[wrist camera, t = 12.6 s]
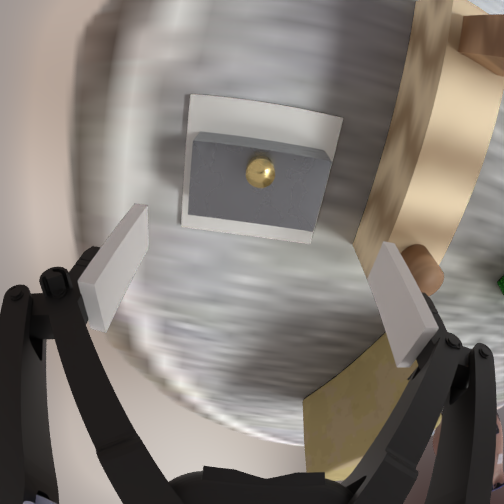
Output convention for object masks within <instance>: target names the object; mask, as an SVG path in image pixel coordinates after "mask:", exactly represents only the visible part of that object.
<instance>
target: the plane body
mask: <svg viewBox="0 0 504 504" xmlns="http://www.w3.org/2000/svg"><path fill="white" fill-rule="evenodd" d="M503 90H504V15H489V14H488V13H486V12H485V11H483V10H482V9H480V8H479V7H477V6H476V5H474V4H473V3H471V2H469V1H468V0H419V1H416V3H415V10H414V17H413V23H412V29H411V34H410V40H409V45H408V50H407V56H406V60H405V65H404V70H403V75H402V79H401V84H400V88H399V92H398V96H397V101H396V105H395V109H394V113H393V117H392V120H391V124H390V128H389V132H388V135H387V139H386V143H385V146H384V150H383V153H382V157H381V160H380V163H379V167H378V170H377V173H376V176H375V180H374V183H373V186H372V189H371V192H370V195H369V198H368V201H367V205H366V208H365V210H364V213H363V216H362V219H361V222H360V225H359V228H358V231H357V234H356V236H355V239H354V242H353V247H354V249H355V252H356V254H357V256H358V259H359V261H360V263H361V266H362V268H363V270H364V273H365V275H366V278H368V276H369V274H370V271H371V269H372V267H373V264H374V262H375V260H376V257H377V255H378V253H379V250H380V248H381V245H382V243H383V241H385V242H390V243H395V245H396V247H397V249H398V250H399V252H400V254H401V256H402V257H403V259H404V261H405V263H406V265H407V266H408V268H409V270H410V272H411V274H412V276H413V277H414V279H415V281H416V283H417V285H418V287H419V289H420V291H421V292H422V293H426V294H427V296H430V295H432V294H433V293H435V292H436V291H437V290H438V289H439V288H440V286H441V285H442V283H443V280H444V273H443V271H442V270H441V268H440V267H439V264H440V262H441V260H442V259H443V257H444V255H445V253H446V250H447V248H448V246H449V244H450V242H451V240H452V238H453V236H454V234H455V232H456V229H457V227H458V225H459V223H460V220H461V218H462V216H463V214H464V211H465V209H466V206H467V204H468V202H469V199H470V197H471V194H472V192H473V189H474V186H475V184H476V181H477V178H478V176H479V173H480V170H481V167H482V164H483V162H484V159H485V156H486V153H487V149H488V146H489V143H490V140H491V136H492V133H493V130H494V126H495V122H496V119H497V115H498V111H499V107H500V103H501V99H502V94H503Z"/></svg>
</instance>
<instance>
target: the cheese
mask: <svg viewBox="0 0 504 504" xmlns="http://www.w3.org/2000/svg"><path fill="white" fill-rule="evenodd" d="M417 367H418V363H417V360H415V361H414V363H413V364H412V365H411V366H410V367H397V366H396V363H395V359H394V356H393V353H392V350H391V347H390V343H389V340H388V337H387V334H386V333H385V334H383V335H382V336H381V337H380V338H379V339H378V340H377V341H376V342H375V343H374V344H373V345H372V346H371V347H369V348H368V349H367V350H366V351H365V352H364V353H363V354H362V355H361V356H360V357H358V358H357V359H356V360H355V361H354V362H353V363H352V364H351V365H349V366H348V367H347V368H346V369H345V370H343V371H342V372H341V373H340V374H338V375H337V376H336V377H335V378H333V379H332V380H331V381H329V382H328V383H327V384H325V385H324V386H323V387H321V388H320V389H318V390H317V391H315V392H314V393H312V394H311V395H309V396H308V397H306V398H305V399H304V400H303V421H304V444H305V457H306V470H307V473H309V472H325V478H326V479H330V480H333V481H338V480H345V479H346V478H347V477H348V476H349V475H350V474H351V473H352V472H353V470H354V469H355V468H356V466H357V465H358V463H359V462H360V461H361V459H362V458H363V456H364V455H365V453H366V452H367V451H368V449H369V448H370V446H371V445H372V443H373V442H374V440H375V438H376V437H377V435H378V434H379V432H380V431H381V429H382V427H383V426H384V424H385V423H386V421H387V419H388V418H389V416H390V414H391V413H392V411H393V409H394V408H395V406H396V404H397V402H398V400H399V399H400V397H401V395H402V393H403V391H404V390H405V388H406V386H407V384H408V382H409V380H407V379H408V378H409V376H410V375H411V374H412V373H413V372H414V370H415V369H416V368H417ZM441 419H442V415H441V414H440V416H439V419H438V421H437V423H436V426H435V428H436V427H437V426H438V425H439V424H440V422H441ZM435 428H434V429H435Z"/></svg>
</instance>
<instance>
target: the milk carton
mask: <svg viewBox="0 0 504 504" xmlns="http://www.w3.org/2000/svg"><path fill="white" fill-rule="evenodd" d="M497 283H498V285H499V287H500V289H501V291H502V293H503V295H504V276H503V277H502V278H501V279H500V280H499V281H498V282H497Z"/></svg>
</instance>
